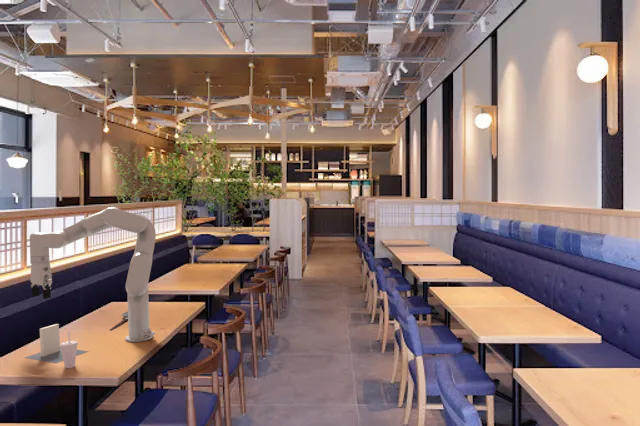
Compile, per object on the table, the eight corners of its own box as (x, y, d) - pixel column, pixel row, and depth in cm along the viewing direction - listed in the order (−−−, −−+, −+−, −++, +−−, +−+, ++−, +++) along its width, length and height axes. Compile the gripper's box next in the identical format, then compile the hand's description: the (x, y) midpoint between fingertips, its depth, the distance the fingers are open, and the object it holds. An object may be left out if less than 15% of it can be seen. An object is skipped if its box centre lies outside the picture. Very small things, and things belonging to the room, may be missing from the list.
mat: (88, 352, 214) (88, 351, 214) (56, 364, 199) (56, 363, 199) (57, 347, 222) (57, 346, 222) (23, 358, 207) (23, 357, 207)
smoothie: (81, 363, 199) (80, 330, 199) (74, 369, 193) (72, 334, 192) (65, 364, 199) (64, 330, 199) (57, 369, 193) (56, 335, 192)
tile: (59, 350, 216) (58, 324, 215) (43, 356, 208) (42, 329, 208) (57, 350, 216) (56, 324, 216) (40, 356, 209) (39, 328, 209)
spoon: (145, 314, 282) (144, 309, 282) (120, 332, 249) (120, 326, 249) (127, 315, 282) (126, 310, 282) (100, 334, 249) (99, 329, 249)
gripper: (58, 259, 218) (59, 297, 218) (38, 257, 227) (39, 293, 228) (41, 261, 212) (42, 300, 212) (21, 259, 221) (22, 296, 221)
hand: (41, 297), depth 220 cm, fingers open, 9 cm apart
